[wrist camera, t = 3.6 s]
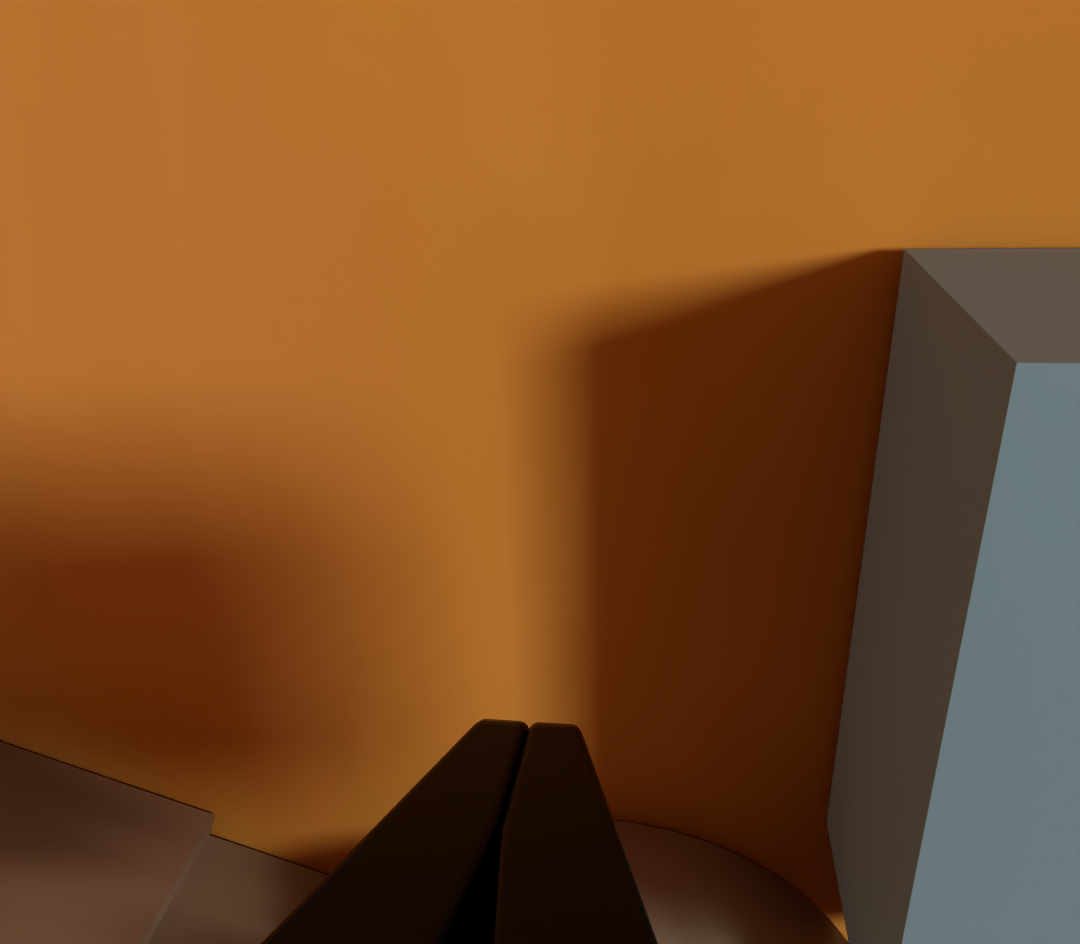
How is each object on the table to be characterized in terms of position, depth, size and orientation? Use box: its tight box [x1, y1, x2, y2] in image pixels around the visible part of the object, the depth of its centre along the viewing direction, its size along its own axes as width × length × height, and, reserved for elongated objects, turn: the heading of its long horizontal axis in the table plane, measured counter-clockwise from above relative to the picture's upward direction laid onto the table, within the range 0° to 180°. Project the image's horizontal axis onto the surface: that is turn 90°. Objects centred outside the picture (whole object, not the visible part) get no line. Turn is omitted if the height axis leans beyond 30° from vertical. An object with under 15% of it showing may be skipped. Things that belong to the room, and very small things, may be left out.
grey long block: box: [826, 248, 1080, 944], centre depth 11 cm, size 11×4×4 cm, turn 2°
